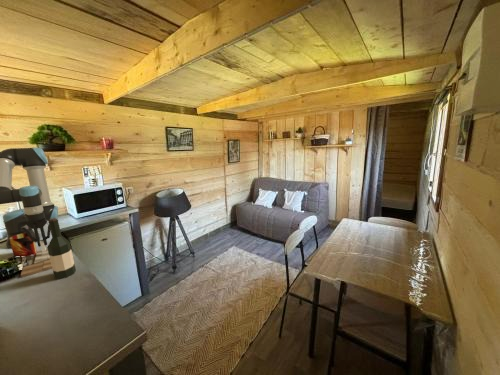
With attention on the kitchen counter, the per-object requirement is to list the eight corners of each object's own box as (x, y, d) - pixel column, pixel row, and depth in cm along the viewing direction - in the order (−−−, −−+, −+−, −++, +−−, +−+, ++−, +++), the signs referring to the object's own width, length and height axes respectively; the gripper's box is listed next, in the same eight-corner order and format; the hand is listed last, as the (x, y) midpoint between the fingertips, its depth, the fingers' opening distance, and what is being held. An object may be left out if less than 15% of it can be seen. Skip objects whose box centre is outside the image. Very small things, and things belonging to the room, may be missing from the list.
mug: (35, 256, 127) (30, 238, 124) (9, 258, 125) (4, 240, 122) (48, 248, 136) (43, 231, 133) (24, 250, 134) (19, 233, 132)
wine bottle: (53, 274, 108) (40, 219, 102) (74, 267, 114) (62, 214, 108) (55, 281, 102) (41, 223, 96) (77, 273, 108) (65, 218, 102)
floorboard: (24, 268, 114) (23, 266, 114) (63, 257, 124) (62, 255, 124) (21, 277, 106) (20, 275, 106) (63, 265, 116) (62, 262, 116)
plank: (37, 253, 130) (37, 250, 130) (55, 248, 135) (54, 246, 135) (34, 265, 117) (34, 262, 117) (54, 260, 122) (53, 257, 122)
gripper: (17, 217, 113) (27, 257, 118) (49, 211, 122) (58, 249, 127) (19, 214, 119) (29, 252, 124) (50, 208, 127) (58, 244, 132)
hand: (44, 250), depth 125 cm, fingers closed
